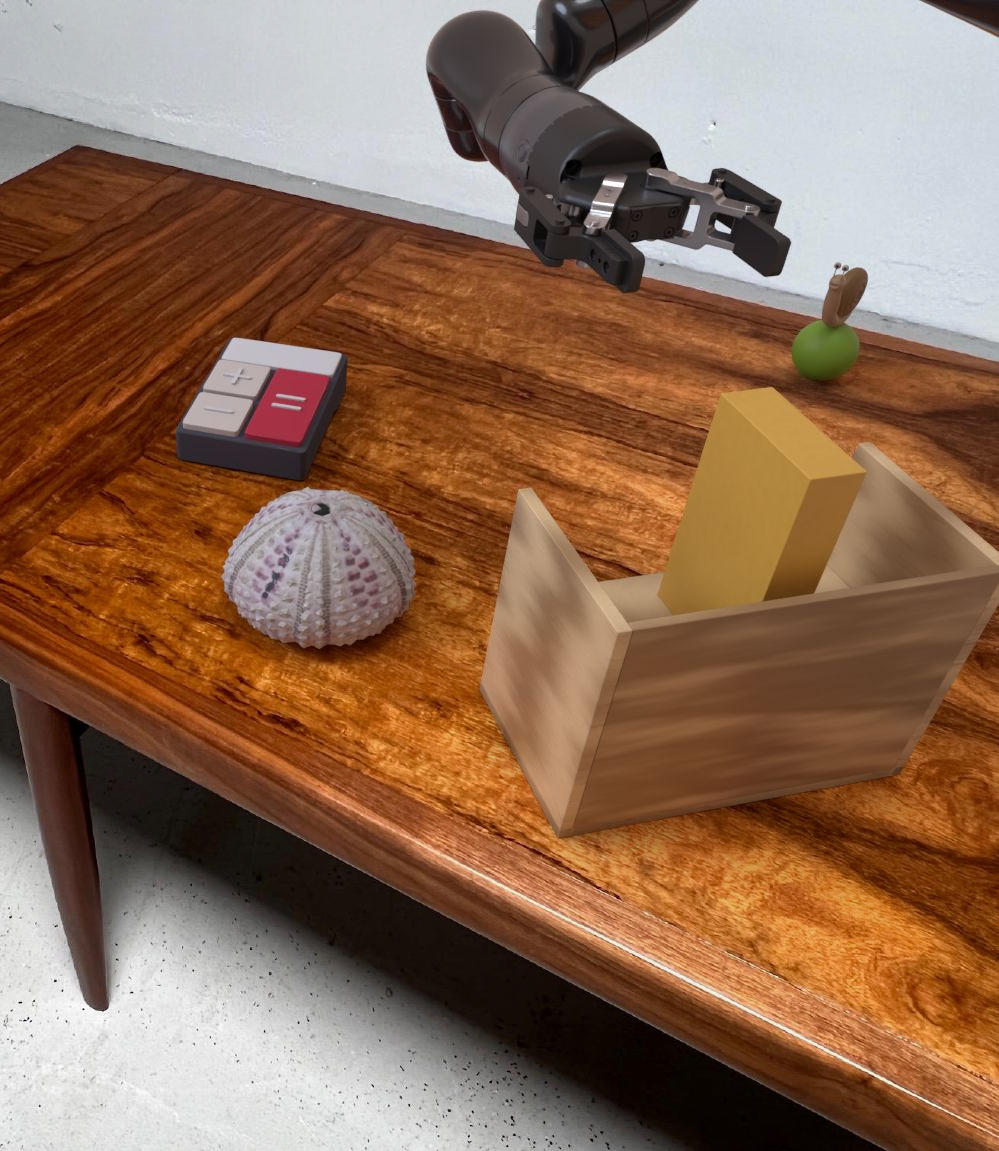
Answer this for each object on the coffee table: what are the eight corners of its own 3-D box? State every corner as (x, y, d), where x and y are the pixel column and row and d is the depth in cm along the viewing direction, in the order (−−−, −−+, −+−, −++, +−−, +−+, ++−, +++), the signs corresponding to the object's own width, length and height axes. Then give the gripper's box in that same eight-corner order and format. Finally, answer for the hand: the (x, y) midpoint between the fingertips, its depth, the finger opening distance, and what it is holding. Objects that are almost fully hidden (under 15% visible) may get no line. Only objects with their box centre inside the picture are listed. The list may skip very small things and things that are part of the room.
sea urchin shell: (435, 653, 75) (449, 561, 70) (236, 675, 74) (235, 582, 69) (386, 533, 86) (396, 444, 80) (210, 550, 84) (208, 460, 79)
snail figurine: (766, 379, 103) (809, 254, 95) (801, 355, 106) (845, 233, 98) (824, 402, 99) (873, 275, 92) (858, 377, 103) (908, 252, 95)
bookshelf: (478, 689, 73) (517, 488, 63) (785, 639, 76) (870, 441, 66) (557, 838, 64) (617, 632, 54) (900, 774, 67) (1019, 569, 57)
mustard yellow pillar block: (727, 688, 62) (810, 479, 53) (655, 592, 68) (718, 390, 59) (777, 679, 62) (868, 471, 53) (700, 585, 68) (770, 384, 59)
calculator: (173, 422, 91) (229, 329, 101) (176, 465, 94) (230, 370, 104) (305, 445, 88) (349, 346, 99) (304, 488, 91) (347, 388, 101)
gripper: (664, 210, 77) (805, 318, 64) (466, 229, 74) (573, 345, 62) (692, 95, 72) (850, 188, 60) (481, 112, 70) (600, 213, 57)
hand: (708, 268), depth 61 cm, fingers open, 8 cm apart
